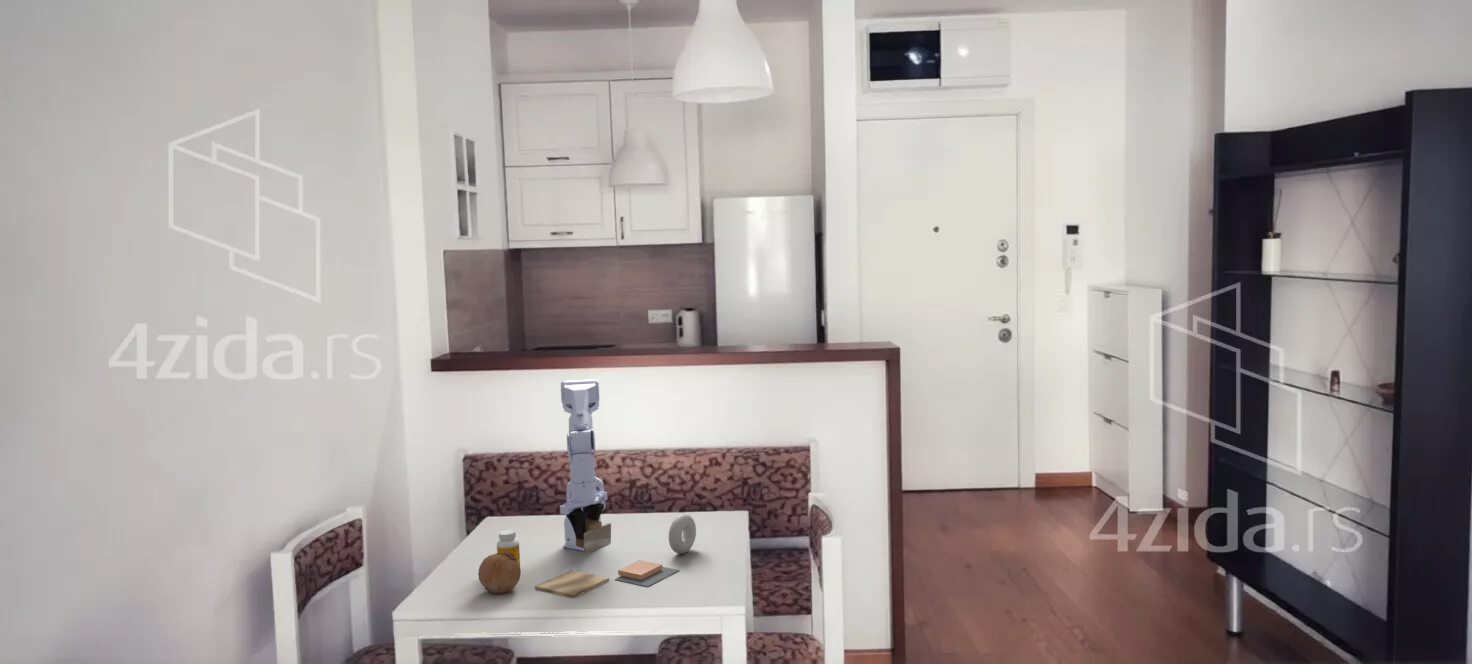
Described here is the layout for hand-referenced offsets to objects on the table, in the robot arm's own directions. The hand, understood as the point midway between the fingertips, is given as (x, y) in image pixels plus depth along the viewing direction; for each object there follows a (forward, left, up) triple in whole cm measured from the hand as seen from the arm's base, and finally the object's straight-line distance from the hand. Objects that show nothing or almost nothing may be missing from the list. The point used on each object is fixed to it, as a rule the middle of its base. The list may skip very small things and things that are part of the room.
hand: (586, 536), depth 219 cm
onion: (-11, -17, -10) cm, 23 cm away
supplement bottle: (-20, -6, -10) cm, 23 cm away
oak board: (+1, -6, -10) cm, 11 cm away
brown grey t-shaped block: (+1, 0, -2) cm, 2 cm away
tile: (+7, +7, -9) cm, 13 cm away
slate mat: (+13, +7, -10) cm, 17 cm away
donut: (+11, +24, -10) cm, 28 cm away
